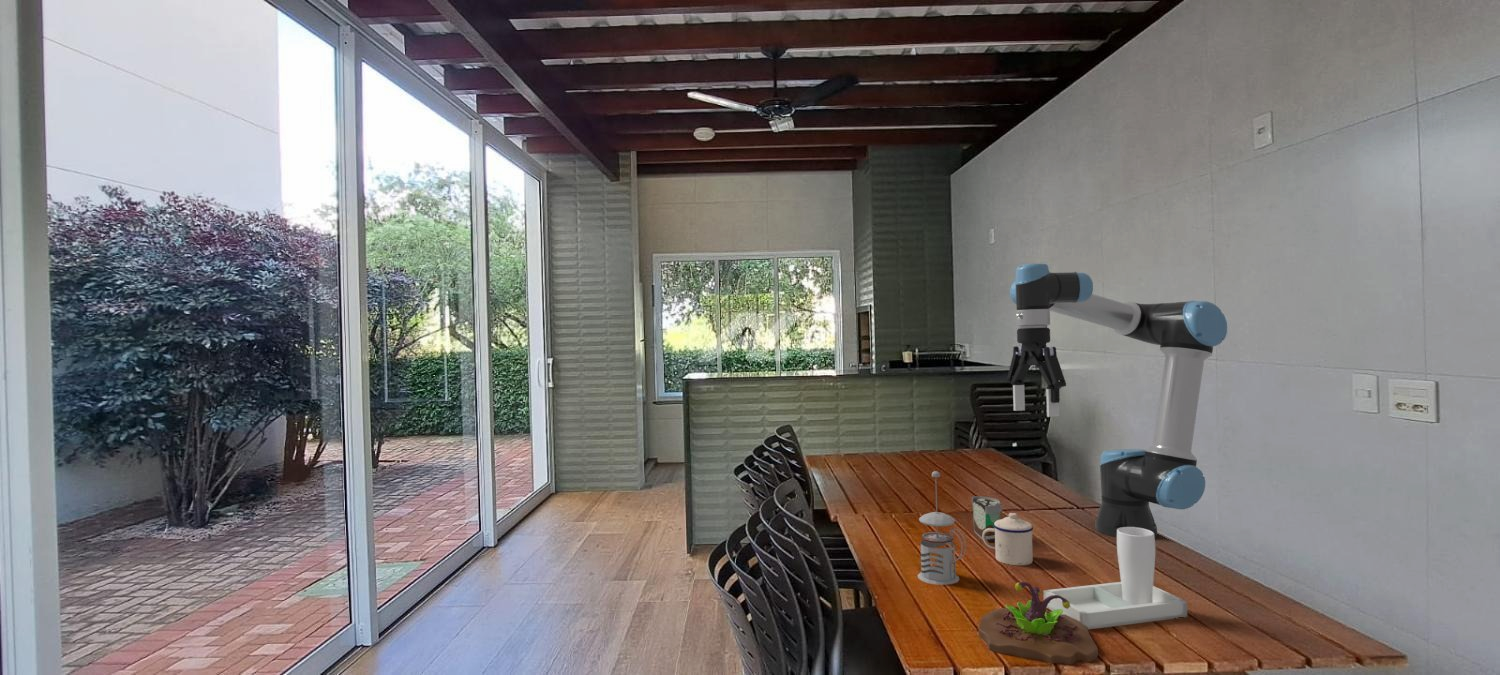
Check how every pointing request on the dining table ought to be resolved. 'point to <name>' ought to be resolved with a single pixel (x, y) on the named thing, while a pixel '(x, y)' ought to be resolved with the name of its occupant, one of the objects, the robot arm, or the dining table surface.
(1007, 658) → the dining table surface
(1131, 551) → the drinking glass
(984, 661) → the dining table surface
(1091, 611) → the divided tray
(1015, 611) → the plant
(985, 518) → the food container
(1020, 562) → the teacup with lid
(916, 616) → the dining table surface
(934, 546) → the french press
